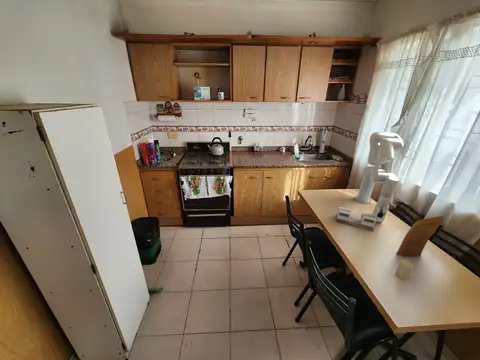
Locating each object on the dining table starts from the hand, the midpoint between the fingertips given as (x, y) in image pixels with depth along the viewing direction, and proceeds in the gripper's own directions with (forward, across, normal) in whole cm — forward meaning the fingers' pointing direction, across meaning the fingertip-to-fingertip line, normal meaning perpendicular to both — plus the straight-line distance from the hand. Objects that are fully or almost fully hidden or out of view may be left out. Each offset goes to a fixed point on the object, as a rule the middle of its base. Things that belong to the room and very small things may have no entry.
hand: (379, 214), depth 155 cm
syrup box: (+5, 0, 0) cm, 5 cm away
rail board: (+6, +11, -16) cm, 20 cm away
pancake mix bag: (+5, +32, +14) cm, 35 cm away
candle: (+5, +53, +6) cm, 53 cm away
